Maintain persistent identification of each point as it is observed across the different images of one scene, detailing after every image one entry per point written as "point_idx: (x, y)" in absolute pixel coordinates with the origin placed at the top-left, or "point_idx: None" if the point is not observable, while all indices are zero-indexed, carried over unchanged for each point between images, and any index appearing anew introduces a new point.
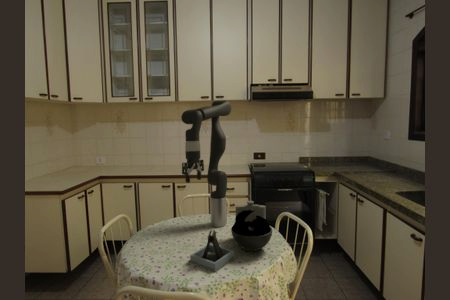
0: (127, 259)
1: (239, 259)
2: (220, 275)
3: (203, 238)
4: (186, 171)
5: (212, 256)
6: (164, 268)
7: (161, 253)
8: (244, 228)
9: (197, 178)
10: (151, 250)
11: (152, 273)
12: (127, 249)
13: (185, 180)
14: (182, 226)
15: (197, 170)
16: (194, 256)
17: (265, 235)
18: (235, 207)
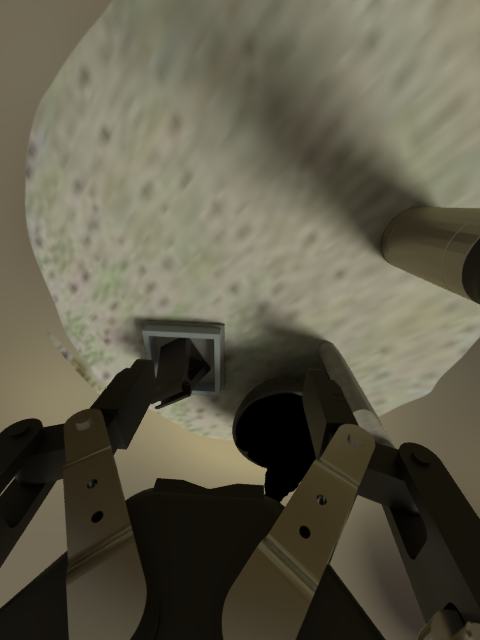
0: (35, 162)
1: (223, 395)
2: None
3: (276, 267)
4: (22, 508)
5: (190, 356)
6: (90, 292)
7: (128, 226)
8: (242, 448)
9: (308, 376)
10: (117, 180)
11: (59, 284)
12: (61, 87)
13: (116, 375)
14: (341, 104)
15: (338, 457)
16: (144, 342)
17: (264, 467)
18: (354, 406)
